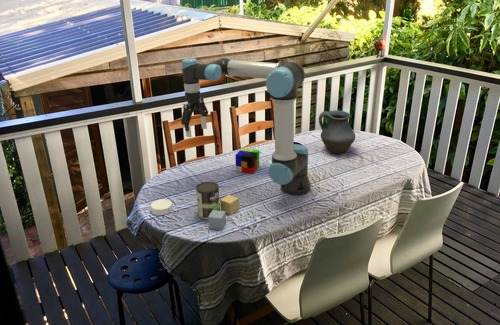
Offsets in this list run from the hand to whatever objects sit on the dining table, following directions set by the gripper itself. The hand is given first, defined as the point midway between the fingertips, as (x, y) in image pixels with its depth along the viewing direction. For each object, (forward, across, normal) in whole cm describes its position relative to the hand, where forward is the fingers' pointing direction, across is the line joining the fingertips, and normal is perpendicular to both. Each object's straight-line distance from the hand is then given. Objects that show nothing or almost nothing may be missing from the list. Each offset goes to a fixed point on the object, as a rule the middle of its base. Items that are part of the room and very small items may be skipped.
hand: (196, 132), depth 227 cm
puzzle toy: (+28, -25, +14) cm, 40 cm away
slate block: (+30, +32, +30) cm, 53 cm away
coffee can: (+29, +25, +21) cm, 44 cm away
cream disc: (+28, +32, -1) cm, 43 cm away
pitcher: (+28, -69, +50) cm, 90 cm away
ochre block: (+29, +18, +28) cm, 45 cm away
